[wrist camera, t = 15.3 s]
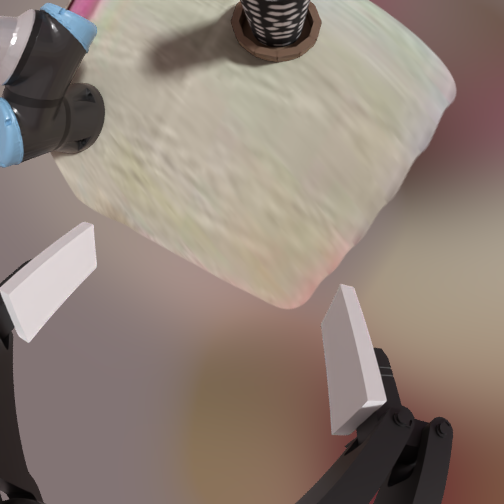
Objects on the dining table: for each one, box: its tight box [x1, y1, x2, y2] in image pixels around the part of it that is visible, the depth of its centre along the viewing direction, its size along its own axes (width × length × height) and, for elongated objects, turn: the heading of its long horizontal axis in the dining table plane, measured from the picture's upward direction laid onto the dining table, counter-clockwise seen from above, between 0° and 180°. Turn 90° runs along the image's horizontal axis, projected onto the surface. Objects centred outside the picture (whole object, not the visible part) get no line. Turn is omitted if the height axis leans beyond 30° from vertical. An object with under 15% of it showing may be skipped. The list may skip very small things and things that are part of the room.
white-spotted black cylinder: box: [240, 0, 310, 48], centre depth 24 cm, size 8×8×20 cm
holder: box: [231, 1, 322, 62], centre depth 31 cm, size 13×13×4 cm
